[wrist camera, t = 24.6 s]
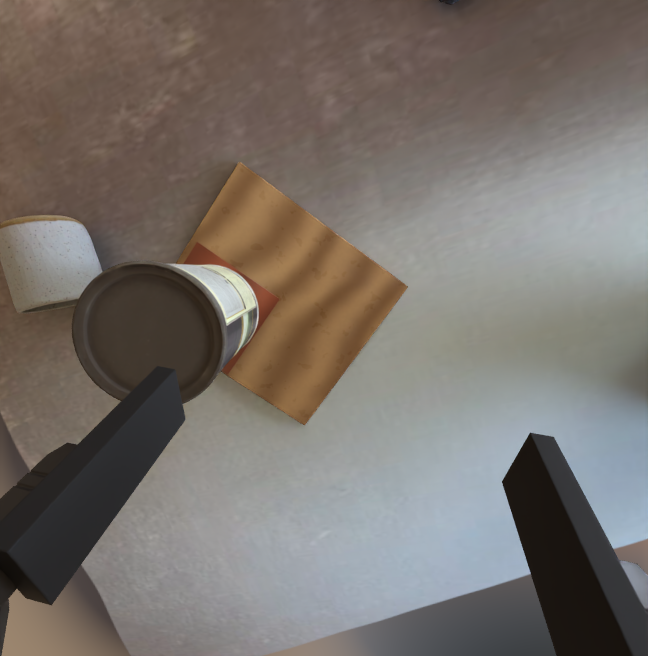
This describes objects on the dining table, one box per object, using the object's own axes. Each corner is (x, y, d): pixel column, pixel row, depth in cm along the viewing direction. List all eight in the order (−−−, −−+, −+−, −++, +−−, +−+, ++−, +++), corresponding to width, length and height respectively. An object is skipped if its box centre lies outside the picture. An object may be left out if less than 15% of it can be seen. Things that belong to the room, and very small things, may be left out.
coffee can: (267, 350, 37) (237, 399, 23) (176, 362, 37) (92, 418, 23) (251, 257, 35) (209, 251, 21) (156, 269, 35) (52, 271, 22)
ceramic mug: (99, 218, 35) (38, 205, 27) (127, 293, 36) (75, 300, 29) (6, 244, 35) (-80, 238, 28) (37, 317, 37) (-37, 330, 29)
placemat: (406, 286, 37) (408, 286, 36) (304, 423, 40) (304, 426, 39) (240, 163, 34) (238, 160, 34) (143, 318, 37) (139, 319, 36)
